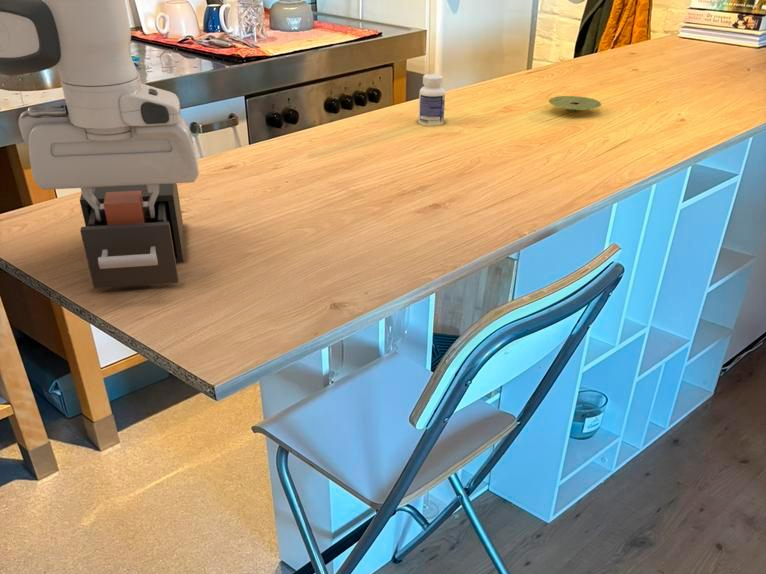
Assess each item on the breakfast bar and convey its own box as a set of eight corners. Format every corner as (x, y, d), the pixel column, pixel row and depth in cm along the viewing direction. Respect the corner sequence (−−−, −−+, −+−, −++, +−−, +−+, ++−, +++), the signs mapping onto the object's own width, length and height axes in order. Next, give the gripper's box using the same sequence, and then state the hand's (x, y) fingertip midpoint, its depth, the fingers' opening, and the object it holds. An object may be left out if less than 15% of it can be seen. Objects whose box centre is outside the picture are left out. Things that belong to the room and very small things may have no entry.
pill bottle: (446, 126, 168) (449, 78, 162) (422, 127, 167) (423, 79, 161) (439, 119, 172) (441, 72, 166) (415, 120, 171) (417, 73, 165)
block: (110, 239, 106) (103, 204, 103) (112, 226, 109) (105, 192, 106) (146, 237, 106) (139, 202, 103) (147, 224, 110) (141, 190, 107)
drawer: (178, 296, 105) (168, 237, 100) (91, 302, 103) (76, 243, 98) (178, 245, 117) (169, 190, 112) (100, 250, 116) (88, 195, 111)
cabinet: (183, 263, 115) (173, 194, 109) (95, 269, 113) (79, 200, 107) (183, 227, 125) (173, 162, 119) (102, 232, 123) (88, 166, 117)
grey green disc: (551, 102, 183) (552, 93, 181) (602, 107, 180) (603, 97, 179) (543, 116, 174) (545, 106, 173) (596, 121, 172) (598, 111, 171)
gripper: (9, 114, 94) (41, 232, 103) (190, 108, 97) (205, 223, 106) (18, 100, 98) (47, 214, 107) (189, 94, 101) (204, 205, 110)
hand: (127, 218), depth 106 cm, fingers closed on block, 4 cm apart
